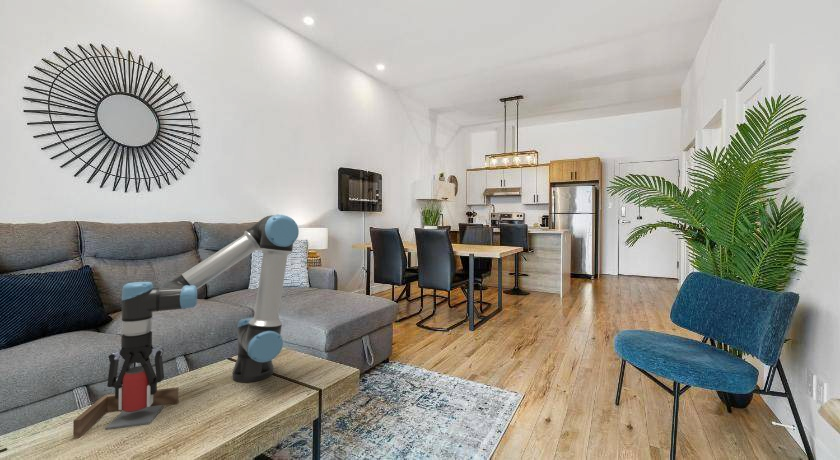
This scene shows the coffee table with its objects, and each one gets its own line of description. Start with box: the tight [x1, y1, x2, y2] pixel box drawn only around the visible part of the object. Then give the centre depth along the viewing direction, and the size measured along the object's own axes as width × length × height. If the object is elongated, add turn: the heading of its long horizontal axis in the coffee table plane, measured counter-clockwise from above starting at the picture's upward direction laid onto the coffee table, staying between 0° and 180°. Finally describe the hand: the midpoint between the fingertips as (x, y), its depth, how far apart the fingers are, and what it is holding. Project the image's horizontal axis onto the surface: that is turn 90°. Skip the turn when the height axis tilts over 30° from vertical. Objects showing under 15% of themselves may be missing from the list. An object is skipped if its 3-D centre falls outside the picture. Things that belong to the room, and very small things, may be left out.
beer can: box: [122, 365, 150, 412], centre depth 111 cm, size 7×7×12 cm
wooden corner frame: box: [72, 386, 180, 439], centre depth 110 cm, size 21×16×5 cm
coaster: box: [105, 405, 165, 431], centre depth 111 cm, size 11×11×1 cm
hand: (136, 406), depth 111 cm, fingers closed on beer can, 6 cm apart
